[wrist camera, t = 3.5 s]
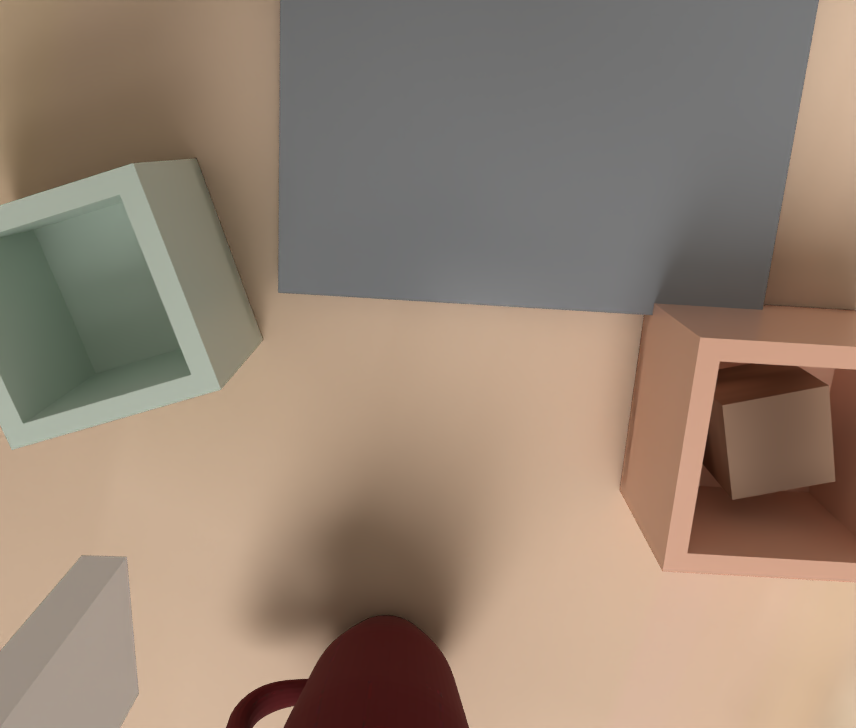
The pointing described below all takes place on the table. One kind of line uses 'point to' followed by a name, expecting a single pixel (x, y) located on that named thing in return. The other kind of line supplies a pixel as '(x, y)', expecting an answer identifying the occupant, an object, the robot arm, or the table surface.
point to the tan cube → (769, 430)
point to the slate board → (537, 149)
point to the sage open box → (116, 300)
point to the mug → (366, 684)
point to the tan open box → (687, 433)
